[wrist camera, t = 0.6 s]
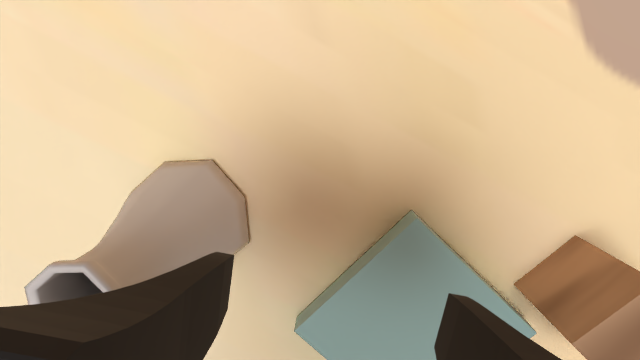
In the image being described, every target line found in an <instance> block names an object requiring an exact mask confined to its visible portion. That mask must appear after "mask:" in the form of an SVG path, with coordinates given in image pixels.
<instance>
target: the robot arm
mask: <svg viewBox="0 0 640 360" xmlns="http://www.w3.org/2000/svg"><path fill="white" fill-rule="evenodd" d="M233 260H234V255H232V254H227V253H221V252H214V253H211V254H208V255H206V256H204V257H201V258H199V259H197V260H195V261H193V262H190V263H188V264H186V265H184V266H181V267H179V268H177V269H174V270H172V271H169V272H167V273H164V274H162V275H159V276H156V277H154V278H151V279H149V280H146V281H143V282H140V283H137V284H134V285H130V286H127V287H123V288H120V289H116V290H112V291H108V292H104V293H99V294H94V295H89V296H84V297H80V298H75V299H69V300H62V301H56V302H49V303H41V304H33V305H23V306H11V307H0V360H203V359H204V357H205V355H206V354H207V352H208V350H209V348H210V347H211V345H212V343H213V341H214V339H215V338H216V336H217V334H218V331H219V329H220V327H221V324H222V322H223V319H224V317H225V314H226V312H227V309H228V301H229V293H230V285H231V277H232V269H233ZM434 349H435V354H436V359H437V360H561V359H560V358H558V357H557V356H555V355H553V354H552V353H550V352H549V351H547V350H546V349H544V348H543V347H541V346H540V345H538V344H536V343H535V342H533V341H532V340H531V339H529V338H528V337H526V336H525V335H523V334H522V333H520V332H519V331H518V330H516V329H515V328H513V327H512V326H510V325H509V324H508V323H506V322H505V321H503V320H502V319H501V318H499V317H498V316H497V315H495V314H494V313H492V312H491V311H490V310H488V309H487V308H485V307H484V306H482V305H481V304H479V303H478V302H476V301H475V300H473V299H471V298H469V297H467V296H462V295H456V294H451V293H449V294H448V298H447V301H446V305H445V308H444V312H443V316H442V319H441V323H440V327H439V330H438V334H437V338H436V341H435V345H434Z"/></svg>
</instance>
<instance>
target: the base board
mask: <svg viewBox="0 0 640 360" xmlns="http://www.w3.org/2000/svg"><path fill="white" fill-rule="evenodd" d="M449 293H451V294H456V295H462V296H467V297H469V298H471V299H473V300H475V301H476V302H478V303H479V304H481V305H482V306H484V307H485V308H487V309H488V310H490V311H491V312H492V313H494V314H495V315H497V316H498V317H499V318H501V319H502V320H503V321H505V322H506V323H508V324H509V325H510V326H512V327H513V328H515V329H516V330H518V331H519V332H520V333H522V334H523V335H525V336H526V337H528V338H529V339H530V338H531V337H532V336H534V335H535V334H536V332H535V330H534V329H533V328H532V327H531V326H530V325H529V323H528V322H527V321H526V320H525V319H524V318H523V317H522V316H521V315H520V314H519V313H518V312H517V311H516V310H515V309H514V308H513V307H512V306H511V305H510V304H509V303H508V302H507V301H506V300H505V299H504V298H503V297H501V296H500V295H499V294H498V293H497V292H496V291H495V290H494V289H493V288H492V287H491V286H490V285H489V284H488V283H487V282H486V281H485V280H484V279H483V278H482V277H481V276H480V275H479V274H478V273H477V272H476V271H474V270H473V269H472V268H471V267H470V266H469V265H468V264H467V263H466V262H465V261H464V260H463V259H462V258H461V257H460V256H459V255H458V254H457V253H456V252H455V251H454V250H453V249H452V248H451V247H450V246H449V245H447V244H446V243H445V242H444V241H443V240H442V239H441V238H440V237H439V236H438V235H437V234H436V233H435V232H434V231H433V230H432V229H431V228H430V227H429V226H428V225H427V224H426V223H425V222H424V221H423V220H422V219H420V218H419V217H418V216H417V215H416V214H415V213H414V212H413V211H412V210H411V211H410V212H409V213H408V214H406V215H405V216H404V217H403V218H402V219H401V220H400V221H399V222H398V223H397V224H396V225H395V226H394V227H393V228H391V229H390V230H389V231H388V232H387V233H386V234H385V235H384V236H383V237H382V238H381V239H380V240H379V241H377V242H376V243H375V244H374V245H373V246H372V247H371V248H370V249H369V250H368V251H367V252H366V253H365V254H364V255H362V256H361V257H360V258H359V259H358V260H357V261H356V262H355V263H354V264H353V265H352V266H351V267H350V268H349V269H347V270H346V271H345V272H344V273H343V274H342V275H341V276H340V277H339V278H338V279H337V280H336V281H335V282H334V283H332V284H331V285H330V286H329V287H328V288H327V289H326V290H325V291H324V292H323V293H322V294H321V295H320V296H318V297H317V298H316V299H315V300H314V301H313V302H312V303H311V304H310V305H309V306H308V307H307V308H306V309H305V310H303V311H302V312H301V313H300V314H299V315H298V316H297V319H296V324H295V329H294V332H296V333H297V334H298V335H299V336H300V337H301V338H302V339H304V340H305V341H306V342H307V343H308V344H309V345H311V346H312V347H313V348H314V349H315V350H316V351H318V352H319V353H320V354H321V355H322V356H323V357H325V358H326V359H327V360H437V359H436V354H435V349H434V345H435V341H436V338H437V334H438V330H439V327H440V323H441V319H442V316H443V312H444V308H445V305H446V301H447V298H448V294H449Z"/></svg>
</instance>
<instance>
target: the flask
mask: <svg viewBox="0 0 640 360" xmlns="http://www.w3.org/2000/svg"><path fill="white" fill-rule="evenodd" d="M248 243H249V237H248V226H247V216H246V206H245V197H244V196H243V195H242V193H241V192H240V191H239V190H238V189H237V188H236V187H235V186H234V184H233V183H232V182H231V181H230V180H229V179H228V178H227V177H226V175H225V174H224V173H223V172H222V171H221V170H220V169H219V167H218V166H217V165H216V164H215V163H214V162H213V161H212V160H199V161H176V162H164V163H163V164H161V165H160V166H159V167H158V168H157V169H156V170H155V171H154V172H153V173H151V174H150V175H149V176H148V177H147V178H146V179H145V180H144V181H143V182H142V183H140V184H139V185H138V186H137V187H136V188H135V189H134V190H133V191H132V192H131V193H130V195H129V196H128V198H127V199H126V201H125V203H124V205H123V206H122V208H121V210H120V212H119V214H118V215H117V217H116V219H115V220H114V222H113V223H112V225H111V226H110V228H109V229H108V231H107V232H106V234H105V235H104V237H103V238H102V240H101V241H100V243H99V244H98V245H97V246H96V247H94V248H93V249H92V250H91V251H89V252H87V253H86V254H84V255H82V256H81V257H79V258H78V259H76V260H69V261H57V262H53V263H52V264H50V265H48V266H47V267H46V268H45V269H44V270H43V271H42V272H41V273H40V274H38V275H37V276H36V277H35V278H34V279H33V280H32V281H31V282H30V283H28V284H27V285H26V286H25V287H24V288H25V292H26V296H27V300H28V305H33V304H41V303H49V302H56V301H62V300H69V299H75V298H80V297H84V296H89V295H94V294H99V293H104V292H108V291H112V290H116V289H120V288H123V287H127V286H130V285H134V284H137V283H140V282H143V281H146V280H149V279H151V278H154V277H156V276H159V275H162V274H164V273H167V272H169V271H172V270H174V269H177V268H179V267H181V266H184V265H186V264H188V263H190V262H193V261H195V260H197V259H199V258H201V257H204V256H206V255H208V254H211V253H214V252H221V253H227V254H232V255H234V254H235V253H237V252H238V251H239V250H240V249H242V248H243V247H244V246H245V245H247V244H248Z"/></svg>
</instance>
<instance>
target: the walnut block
mask: <svg viewBox="0 0 640 360" xmlns="http://www.w3.org/2000/svg"><path fill="white" fill-rule="evenodd" d="M514 285H515V286H516V287H517V288H518V289H519V290H520V291H521V292H522V293H523V294H524V295H525V296H526V297H527V298H528V299H529V300H530V301H531V303H532V304H533V305H534V306H535V307H536V308H537V309H538V310H539V311H540V312H541V313H542V314H543V315H544V316H545V317H546V318H547V319H548V320H549V321H550V322H551V323H552V324H553V325H554V326H555V327H556V328H557V329H558V330H559V331H560V332H561V334H562V335H563V336H564V337H565V338H566V339H567V340H568V341H569V342H570V343H571V344H572V345H573V346H574V347H575V348H576V349H577V350H578V351H579V352H580V353H581V354H582V355H583V356H584V357H585V358H586V359H587V360H640V271H638V270H636V269H634V268H632V267H631V266H629V265H627V264H625V263H624V262H622V261H620V260H618V259H616V258H615V257H613V256H611V255H609V254H607V253H606V252H604V251H602V250H600V249H599V248H597V247H595V246H593V245H591V244H590V243H588V242H586V241H584V240H583V239H581V238H579V237H577V236H574V237H573V238H571V239H570V240H569V241H568V242H566V243H565V244H564V245H562V246H561V247H560V248H559V249H557V250H556V251H555V252H554V253H552V254H551V255H550V256H549V257H547V258H546V259H545V260H544V261H542V262H541V263H540V264H539V265H537V266H536V267H535V268H534V269H532V270H531V271H530V272H529V273H527V274H526V275H525V276H523V277H522V278H521V279H520V280H518V281H517V282H516V283H515V284H514Z"/></svg>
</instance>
